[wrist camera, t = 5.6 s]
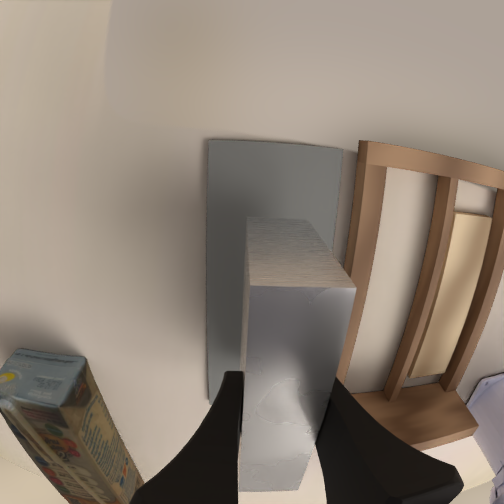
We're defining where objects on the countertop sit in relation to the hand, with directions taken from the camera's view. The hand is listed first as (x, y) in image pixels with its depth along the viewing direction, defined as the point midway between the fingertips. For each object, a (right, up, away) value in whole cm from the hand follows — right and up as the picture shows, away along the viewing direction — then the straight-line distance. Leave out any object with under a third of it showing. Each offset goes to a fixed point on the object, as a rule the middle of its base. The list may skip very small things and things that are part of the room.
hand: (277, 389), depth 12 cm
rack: (+11, +2, +8) cm, 13 cm away
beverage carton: (-17, -11, +12) cm, 24 cm away
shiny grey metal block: (0, +2, +5) cm, 5 cm away
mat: (0, +3, +7) cm, 8 cm away
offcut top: (+13, +2, +8) cm, 16 cm away
